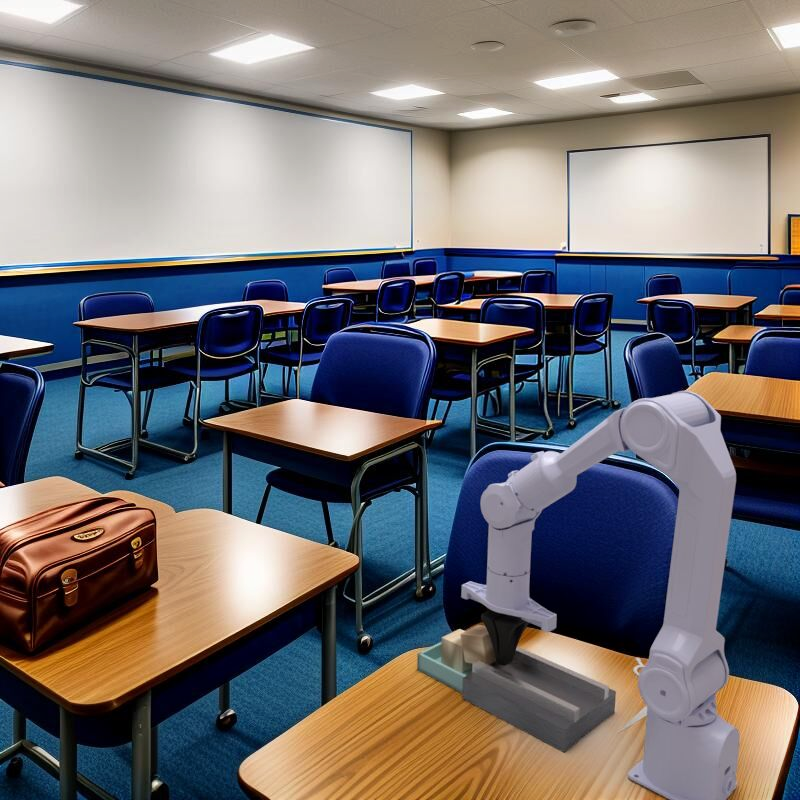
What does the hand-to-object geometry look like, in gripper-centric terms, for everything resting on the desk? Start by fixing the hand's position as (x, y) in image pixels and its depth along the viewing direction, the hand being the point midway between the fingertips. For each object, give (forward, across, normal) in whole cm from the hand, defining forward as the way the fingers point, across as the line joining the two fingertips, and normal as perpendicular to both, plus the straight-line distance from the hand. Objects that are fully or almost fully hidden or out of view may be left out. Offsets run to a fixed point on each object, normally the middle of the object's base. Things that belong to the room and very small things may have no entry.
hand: (504, 661), depth 102 cm
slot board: (+4, -6, 0) cm, 7 cm away
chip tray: (+4, +7, 0) cm, 8 cm away
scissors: (+5, -16, -12) cm, 21 cm away
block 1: (+1, +6, 0) cm, 6 cm away
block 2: (+1, +4, 0) cm, 4 cm away
